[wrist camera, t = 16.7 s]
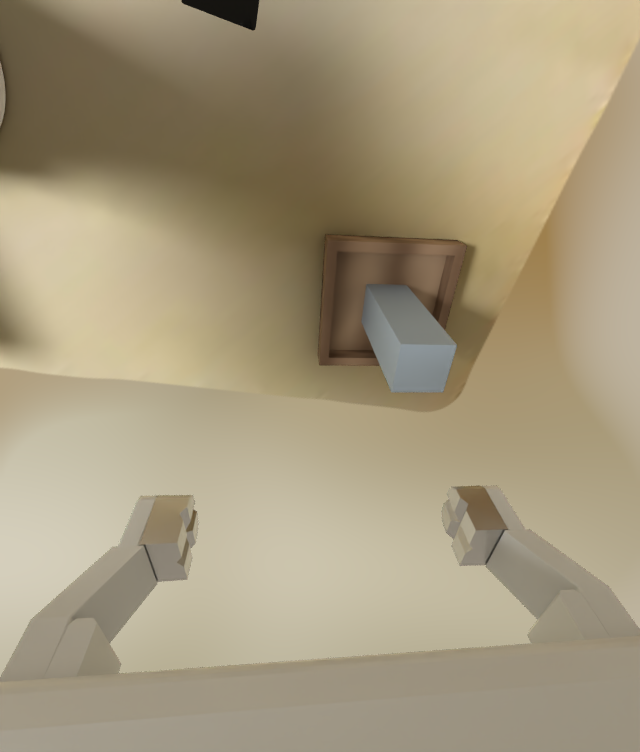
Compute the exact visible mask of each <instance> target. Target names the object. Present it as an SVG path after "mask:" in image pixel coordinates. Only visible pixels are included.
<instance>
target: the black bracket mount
mask: <svg viewBox="0 0 640 752" xmlns="http://www.w3.org/2000/svg"><path fill="white" fill-rule="evenodd" d="M182 3H183V4H186V5H188V6H191V7H193V8H196V9H199V10H201V11H204V12H206V13H209V14H212V15H214V16H217V17H219V18H222V19H225V20H227V21H230V22H232V23H235V24H238V25H240V26H243V27H245V28H248V29H251V30H255V28H256V21H257V13H258V5H259V0H182Z"/></svg>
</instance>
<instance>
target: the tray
mask: <svg viewBox="0 0 640 752" xmlns="http://www.w3.org/2000/svg"><path fill="white" fill-rule="evenodd" d="M466 248H467V246H466V245H465V244H463V243H461V242H459V241H458V240H442V239H418V238H394V237H371V236H347V235H325V248H324V264H323V280H322V296H321V312H320V328H319V344H318V359H319V365H364V366H380V364H379V362H378V360H377V357H376V355H375V353H374V350H373V348H372V346H371V343H370V341H369V339H368V336H367V334H366V332H365V329H364V327H363V324H362V322H361V321H362V314H363V306H364V298H365V290H366V284H389V285H407V286H408V287H409V289H410V290H411V291H412V292H413V293H414V294H415V296H416V297H417V298H418V299H419V300H420V302H421V303H422V304H423V305H424V306H425V308H426V309H427V310H428V311H429V312H430V313H431V315H432V316H433V317H434V318H435V319H436V321H437V322H438V323H439V324H440V325H441V327H442V328H443V329H444V330H445V327H446V323H447V320H448V316H449V312H450V308H451V305H452V301H453V297H454V293H455V290H456V286H457V282H458V278H459V274H460V271H461V267H462V263H463V259H464V256H465V252H466Z"/></svg>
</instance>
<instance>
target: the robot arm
mask: <svg viewBox="0 0 640 752" xmlns="http://www.w3.org/2000/svg"><path fill="white" fill-rule="evenodd" d="M5 99H6V95H5V82H4V76H3V71H2V66H1V63H0V126H1V124H2V120H3V116H4V111H5ZM447 495H448V498H449V500H447V501H446V502H445V503H444V504H443V507H442V522H443V526H444V528H445V531H446V533H447V534H448V535H449V536H451V537H452V538H453V542H452V548H453V551H454V553H455V556H456V558H457V560H458V563H459V565H460V566H465V565H466V566H467V565H486V568H488V570H490V572H492V574H493V575H494V576H495V577H496V578H497V579H498V580H499V581H500V582H501V583H502V584H503V585H504V586H505V587H506V588H507V589H508V590H509V591H510V592H511V593H512V594H513V595H514V596H515V597H516V598H517V599H518V600H519V601H520V602H521V603H522V604H523V605H524V606H525V607H526V608H527V609H528V610H529V611H530V612H531V613H532V614H533V615H534V616H535V617H536V618H537V619H538V620H537V621H536V622H535V624H534V625H533V626H532V628H531V629H530V630H529V632H528V637H529V639H530V641H531V643H530V644H516V645H504V646H489V647H475V648H461V649H448V650H433V651H420V652H406V653H392V654H378V655H365V656H352V657H338V658H324V659H311V660H298V661H297V660H296V661H282V662H269V663H255V664H241V665H228V666H214V667H200V668H187V669H173V670H159V671H145V672H133V673H119V669H120V666H121V663H120V661H119V659H118V657H117V655H116V654H115V652H114V651H113V649H112V647H111V646H110V642H111V641H112V640H113V639H114V637H115V636H116V635H117V634H118V632H119V631H120V630H121V628H122V627H123V626H124V625H125V624H126V622H127V621H128V620H129V618H130V617H131V616H132V615H133V614H134V612H135V611H136V610H137V609H138V607H139V606H140V605H141V604H142V602H143V601H144V600H145V599H146V597H147V596H148V595H149V594H150V592H151V591H152V590H153V589H154V587H155V586H156V585H157V582H161V581H174V580H187V579H188V575H189V570H190V566H191V561H192V554H191V548H192V546H193V545H194V544H195V543H196V539H197V533H198V514H197V511H195V510H194V505H195V500H194V497H193V495H179V496H178V495H174V496H173V495H171V496H170V495H163V496H161V495H160V496H159V495H158V496H141V497H140V498H139V499H138V500H137V502H136V504H135V507H134V509H133V512H132V514H131V516H130V519H129V521H128V524H127V526H126V528H125V531H124V533H123V536H122V538H121V541H120V543H119V545H118V546H116V547H112V548H111V549H110V550H109V551H107V552H106V553H105V554H104V555H103V556H102V557H101V558H100V559H99V560H98V561H96V562H95V563H94V564H93V565H92V566H91V567H89V568H88V569H87V570H86V571H85V572H84V573H83V574H82V575H80V576H79V577H78V578H77V579H76V580H75V581H74V582H73V583H71V585H69V586H68V587H67V588H66V589H65V590H64V591H63V592H61V593H60V594H59V595H58V596H57V597H56V598H55V599H53V600H52V601H51V602H50V603H49V604H48V605H47V606H46V607H45V608H43V609H42V610H41V611H40V612H39V613H38V614H37V615H36V616H34V617H33V618H32V619H31V621H30V622H29V624H28V627H27V628H26V630H25V632H24V634H23V636H22V638H21V639H20V641H19V643H18V645H17V647H16V649H15V651H14V653H13V654H12V657H11V658H10V660H9V662H8V664H7V666H6V668H5V670H4V671H3V673H2V675H1V677H0V752H640V629H639V628H638V626H637V625H636V624H635V622H634V621H633V619H632V618H631V616H630V615H629V614H628V612H627V611H626V610H625V608H624V607H623V605H622V604H621V603H620V601H619V600H618V599H617V597H616V596H615V594H614V593H613V592H612V590H611V589H610V587H609V586H608V585H606V584H605V583H604V582H602V581H601V580H599V579H598V578H597V577H595V576H594V575H592V574H591V573H590V572H588V571H587V570H586V569H584V568H583V567H581V566H580V565H578V564H577V563H576V562H575V561H573V560H572V559H570V558H569V557H567V556H566V555H565V554H564V553H562V552H561V551H559V550H558V549H557V548H555V547H554V546H553V545H551V544H550V543H548V542H547V541H546V540H544V539H543V538H541V537H540V536H539V535H537V534H536V533H534V532H533V531H532V530H530V529H525V527H524V526H523V524H522V523H521V521H520V520H519V518H518V516H517V515H516V513H515V511H514V510H513V508H512V506H511V505H510V503H509V502H508V500H507V498H506V497H505V495H504V494H503V492H502V491H501V489H500V488H499V487H498V486H497V485H496V486H494V485H493V486H460V487H451V488H450V489H449V491H448V493H447Z"/></svg>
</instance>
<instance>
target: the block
mask: <svg viewBox="0 0 640 752" xmlns="http://www.w3.org/2000/svg"><path fill="white" fill-rule="evenodd" d="M361 322H362V324H363V327H364V329H365V332H366V334H367V336H368V339H369V341H370V343H371V346H372V348H373V350H374V353H375V355H376V357H377V360H378V362H379V364H380V367H381V369H382V371H383V374H384V376H385V379H386V381H387V383H388V386H389V388H390V390H391V392H443V391H444V388H445V385H446V381H447V378H448V374H449V371H450V368H451V364H452V361H453V357H454V354H455V351H456V347H457V344H456V343H455V342H454V341H453V340H452V338H451V337H450V336H449V335H448V334H447V332H446V331H445V330H444V329H443V328H442V327H441V325H440V324H439V323H438V322H437V321H436V319H435V318H434V317H433V316H432V315H431V313H430V312H429V311H428V310H427V309H426V308H425V306H424V305H423V304H422V303H421V302H420V300H419V299H418V298H417V297H416V296H415V294H414V293H413V292H412V291H411V290H410V289H409V287H408V286H407V285H389V284H366V290H365V298H364V306H363V314H362V321H361Z"/></svg>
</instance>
